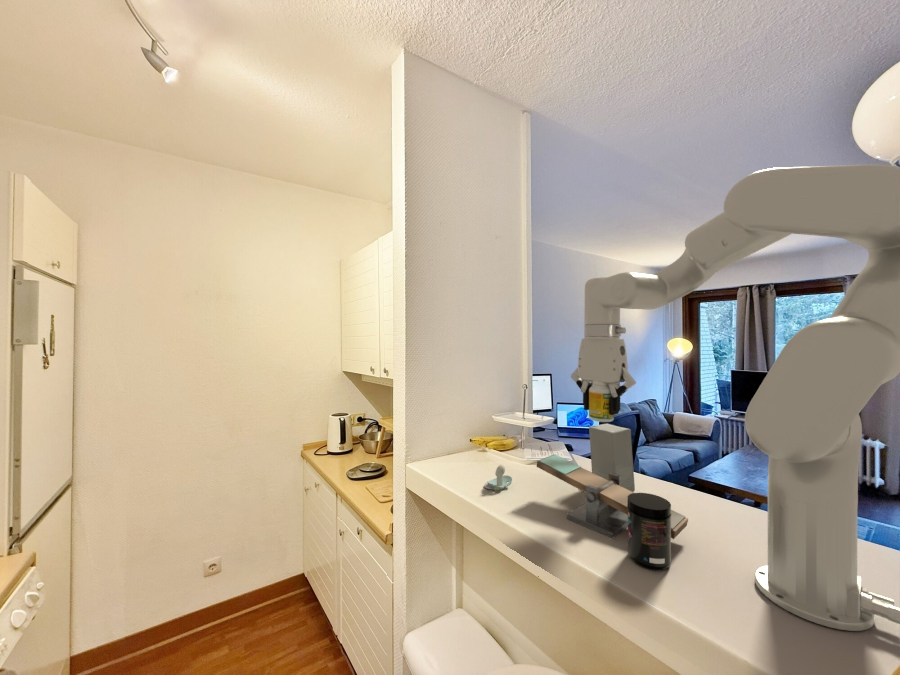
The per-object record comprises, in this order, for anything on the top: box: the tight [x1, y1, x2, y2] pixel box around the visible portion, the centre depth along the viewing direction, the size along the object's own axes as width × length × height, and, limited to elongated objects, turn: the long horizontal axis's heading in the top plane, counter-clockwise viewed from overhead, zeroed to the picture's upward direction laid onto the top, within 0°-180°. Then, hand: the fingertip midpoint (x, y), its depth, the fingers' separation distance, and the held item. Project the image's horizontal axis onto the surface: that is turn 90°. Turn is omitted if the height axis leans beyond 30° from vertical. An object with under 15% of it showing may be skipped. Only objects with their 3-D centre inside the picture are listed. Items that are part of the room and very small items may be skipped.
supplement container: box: [627, 492, 672, 571], centre depth 65 cm, size 7×7×10 cm
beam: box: [536, 454, 689, 540], centre depth 80 cm, size 30×9×2 cm, turn 41°
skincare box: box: [588, 423, 636, 493], centre depth 95 cm, size 8×7×16 cm
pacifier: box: [484, 464, 513, 491], centre depth 96 cm, size 7×6×6 cm
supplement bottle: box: [588, 381, 615, 423], centre depth 85 cm, size 5×5×10 cm
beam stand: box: [566, 473, 628, 539], centre depth 80 cm, size 10×13×8 cm
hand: (600, 410), depth 85 cm, fingers closed on supplement bottle, 5 cm apart
